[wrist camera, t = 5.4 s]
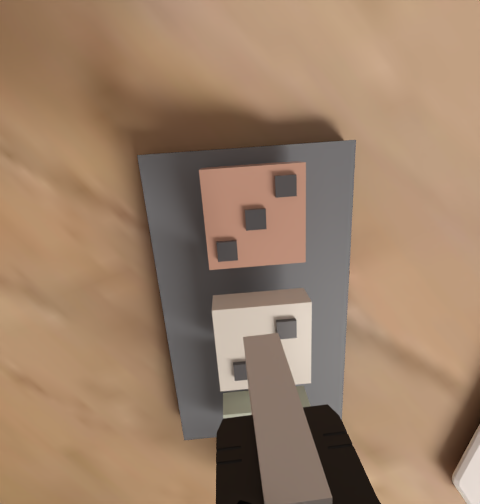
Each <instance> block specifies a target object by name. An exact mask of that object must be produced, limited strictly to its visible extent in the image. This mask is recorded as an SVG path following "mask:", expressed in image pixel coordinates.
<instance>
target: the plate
mask: <svg viewBox="0 0 480 504" xmlns="http://www.w3.org/2000/svg"><path fill="white" fill-rule="evenodd" d="M452 482H453V484H454V485H455V487H456V488H457V490H458V491H459V493H460V494H461V496H462V497H463V499H464V500H465V502H466V503H467V504H480V424H479V426H478V428H477V430H476V432H475V433H474V435H473V437H472V439H471V441H470V443H469V445H468V446H467V448H466V450H465V452H464V454H463V456H462V458H461V460H460V461H459V463H458V465H457V467H456V469H455V471H454V473H453V475H452Z"/></svg>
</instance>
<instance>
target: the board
mask: <svg viewBox="0 0 480 504" xmlns="http://www.w3.org/2000/svg"><path fill="white" fill-rule="evenodd" d="M355 149H356V140H347V141H332V142H318V143H304V144H289V145H275V146H261V147H247V148H232V149H218V150H204V151H190V152H175V153H161V154H147V155H137V157H138V163H139V169H140V175H141V181H142V187H143V193H144V199H145V205H146V211H147V217H148V223H149V229H150V235H151V241H152V247H153V254H154V260H155V266H156V272H157V278H158V284H159V290H160V296H161V302H162V308H163V314H164V320H165V326H166V332H167V338H168V344H169V350H170V356H171V362H172V368H173V374H174V381H175V387H176V393H177V399H178V405H179V411H180V417H181V423H182V429H183V435H184V440H192V439H202V438H212V437H217V431H218V429H219V426H220V424H221V422H222V420H223V393H228V392H239V391H249V389H242V390H231V391H221V392H220V383H219V373H218V364H217V355H216V346H215V336H214V327H213V318H212V299H213V295H224V294H236V293H248V292H260V291H272V290H284V289H296V288H304V289H305V291H306V293H307V295H308V296H309V298H310V300H311V302H312V337H311V383H308V384H297V385H296V386H304V388H305V391H306V394H307V397H308V400H309V403H310V406H318V405H326V404H328V405H329V406H330V407H331V408H332V409H333V410H334V411H335V412H336V413H337V414H338V415H339V416H340V418H341V420H342V403H343V383H344V364H345V344H346V325H347V305H348V286H349V266H350V247H351V227H352V207H353V188H354V168H355ZM291 161H301V162H306V262H303V263H291V264H279V265H266V266H254V267H241V268H229V269H217V270H209V261H208V252H207V242H206V233H205V223H204V214H203V204H202V195H201V185H200V176H199V170H200V169H201V168H207V167H221V166H235V165H249V164H263V163H277V162H291Z"/></svg>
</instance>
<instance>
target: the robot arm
mask: <svg viewBox="0 0 480 504" xmlns="http://www.w3.org/2000/svg"><path fill="white" fill-rule="evenodd" d="M243 342H244V351H245V361H246V370H247V380H248V389H249V397H250V405H251V413H252V415H247V416H239V417H231V418H224V419H223V420H222V422H221V424H220V426H219V429H218V431H217V443H216V449H217V452H216V464H217V466H216V504H381V503H380V502H379V500H378V498H377V496H376V494H375V492H374V490H373V488H372V486H371V483H370V481H369V479H368V477H367V475H366V472H365V470H364V468H363V466H362V464H361V462H360V459H359V457H358V455H357V453H356V451H355V449H354V447H353V445H352V442H351V440H350V438H349V435H348V434H347V432H346V429H345V427H344V425H343V422H342V420H341V418H340V416H339V415H338V414H337V413H336V412H335V411H334V410H333V409H332V408H331V407H330V406H329V405H328V404H326V405H318V406H310V407H302V404H301V401H300V398H299V395H298V392H297V389H296V385H295V382H294V379H293V376H292V373H291V370H290V367H289V364H288V361H287V358H286V355H285V352H284V349H283V346H282V343H281V340H280V337H279V334H278V333H272V334H264V335H255V336H247V337H243Z"/></svg>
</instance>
